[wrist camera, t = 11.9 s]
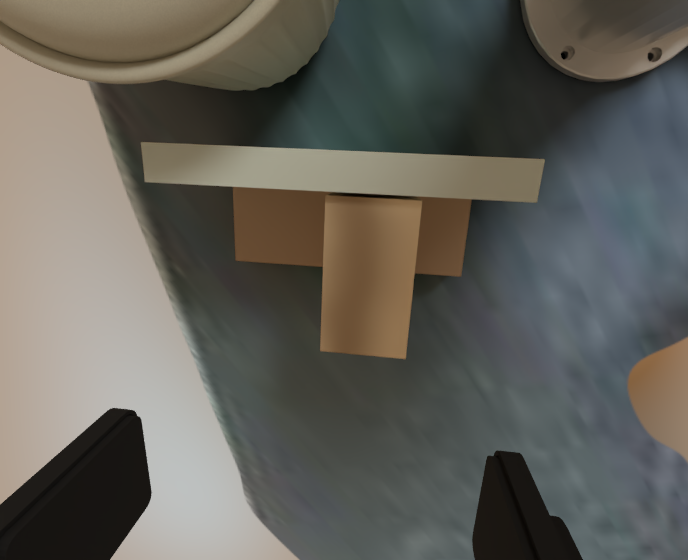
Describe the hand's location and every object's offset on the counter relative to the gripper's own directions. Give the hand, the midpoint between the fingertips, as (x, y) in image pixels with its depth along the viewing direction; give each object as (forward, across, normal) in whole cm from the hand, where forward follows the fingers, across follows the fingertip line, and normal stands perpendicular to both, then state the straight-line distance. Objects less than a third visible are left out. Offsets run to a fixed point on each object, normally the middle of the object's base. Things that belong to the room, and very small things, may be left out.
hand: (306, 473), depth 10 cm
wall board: (+23, +1, -4) cm, 24 cm away
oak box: (+21, -1, -2) cm, 21 cm away
